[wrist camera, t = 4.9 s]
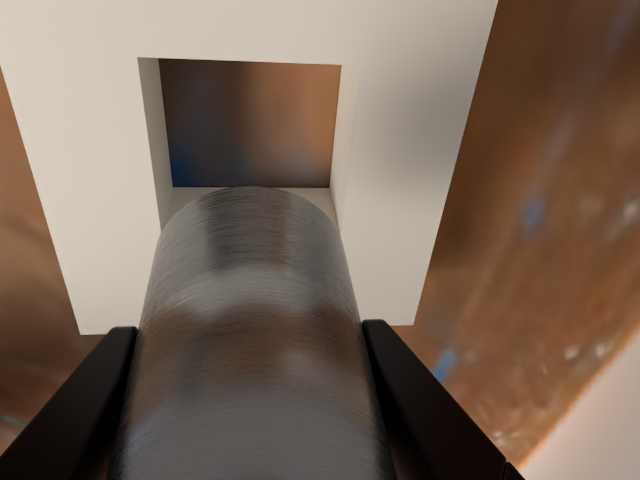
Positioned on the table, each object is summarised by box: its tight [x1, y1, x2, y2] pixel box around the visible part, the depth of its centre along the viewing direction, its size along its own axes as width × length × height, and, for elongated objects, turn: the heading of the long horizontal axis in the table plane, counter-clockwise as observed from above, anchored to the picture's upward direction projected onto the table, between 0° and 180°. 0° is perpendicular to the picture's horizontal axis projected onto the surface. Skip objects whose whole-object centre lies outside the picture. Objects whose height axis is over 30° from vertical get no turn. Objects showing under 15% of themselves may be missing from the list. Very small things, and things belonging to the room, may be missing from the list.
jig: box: [0, 0, 498, 335], centre depth 16 cm, size 14×12×3 cm
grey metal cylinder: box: [106, 186, 398, 480], centre depth 9 cm, size 4×4×7 cm
